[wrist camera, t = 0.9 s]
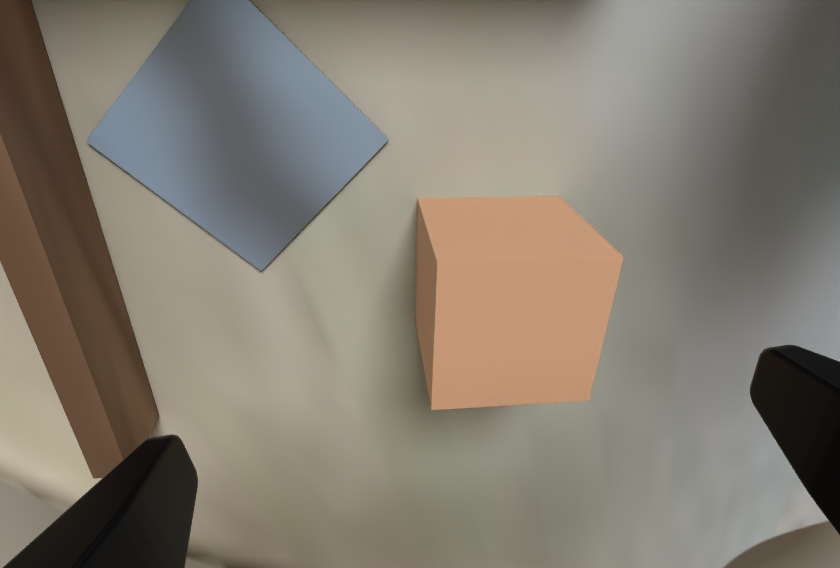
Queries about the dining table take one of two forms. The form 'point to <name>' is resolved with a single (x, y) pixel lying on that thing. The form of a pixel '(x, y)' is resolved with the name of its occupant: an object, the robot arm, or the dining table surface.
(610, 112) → the dining table surface
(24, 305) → the arena
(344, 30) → the dining table surface
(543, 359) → the cube
